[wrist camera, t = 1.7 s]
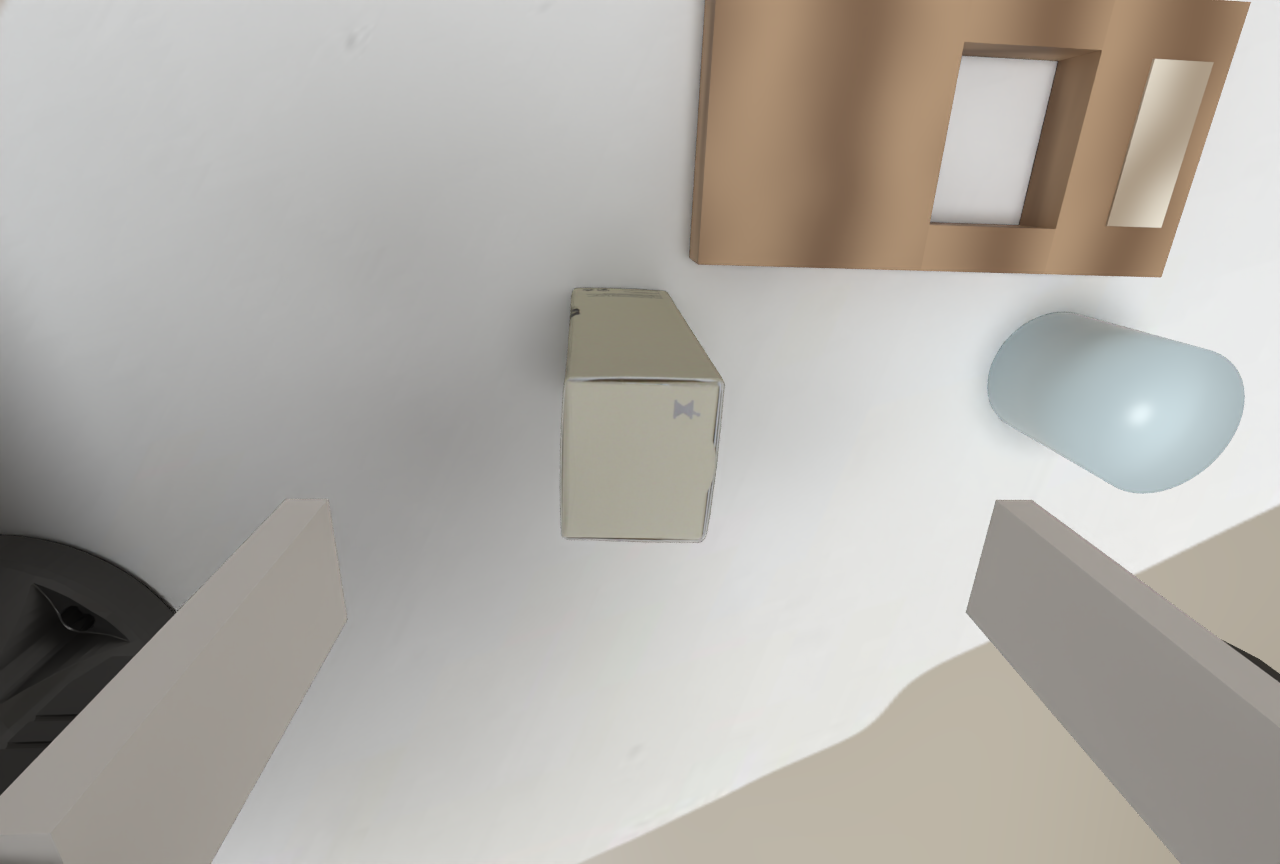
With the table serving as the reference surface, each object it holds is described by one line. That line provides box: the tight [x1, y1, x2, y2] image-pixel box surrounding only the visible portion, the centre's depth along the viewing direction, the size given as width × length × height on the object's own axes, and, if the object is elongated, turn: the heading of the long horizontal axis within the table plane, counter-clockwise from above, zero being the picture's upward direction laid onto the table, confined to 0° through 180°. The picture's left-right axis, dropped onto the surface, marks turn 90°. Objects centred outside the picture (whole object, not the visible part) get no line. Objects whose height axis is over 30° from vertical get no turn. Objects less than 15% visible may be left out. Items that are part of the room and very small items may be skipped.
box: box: [560, 288, 725, 543], centre depth 23 cm, size 5×4×13 cm
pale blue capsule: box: [987, 312, 1245, 493], centre depth 28 cm, size 6×6×7 cm
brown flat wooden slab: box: [689, 0, 1251, 277], centre depth 26 cm, size 20×10×2 cm, turn 88°
